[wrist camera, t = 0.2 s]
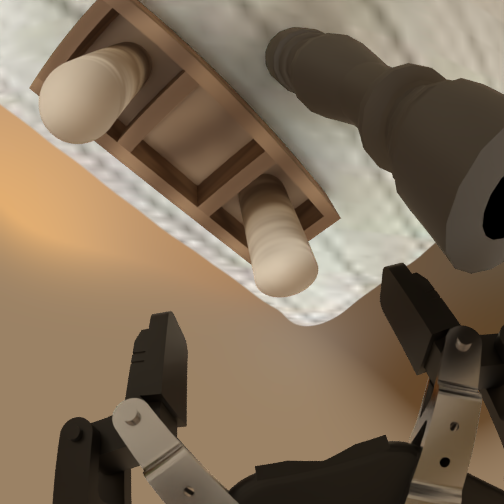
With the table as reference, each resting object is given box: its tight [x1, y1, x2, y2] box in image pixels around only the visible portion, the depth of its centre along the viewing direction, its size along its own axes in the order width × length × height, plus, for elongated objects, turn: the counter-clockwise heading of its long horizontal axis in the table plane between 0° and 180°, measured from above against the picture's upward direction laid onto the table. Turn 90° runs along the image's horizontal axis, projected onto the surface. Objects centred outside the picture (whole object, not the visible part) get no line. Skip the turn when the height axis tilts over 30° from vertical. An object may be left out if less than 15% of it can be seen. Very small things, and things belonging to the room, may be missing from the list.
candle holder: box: [266, 28, 504, 274], centre depth 16 cm, size 6×6×25 cm
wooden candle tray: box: [30, 0, 340, 297], centre depth 25 cm, size 30×10×13 cm, turn 40°
